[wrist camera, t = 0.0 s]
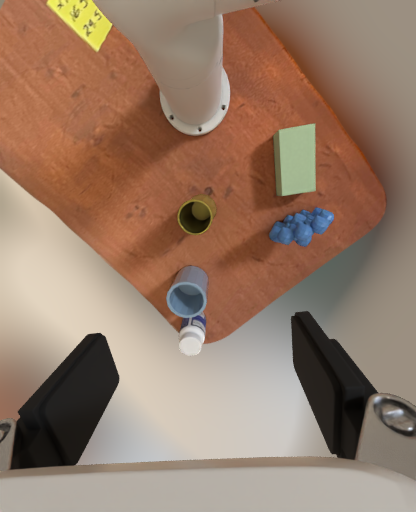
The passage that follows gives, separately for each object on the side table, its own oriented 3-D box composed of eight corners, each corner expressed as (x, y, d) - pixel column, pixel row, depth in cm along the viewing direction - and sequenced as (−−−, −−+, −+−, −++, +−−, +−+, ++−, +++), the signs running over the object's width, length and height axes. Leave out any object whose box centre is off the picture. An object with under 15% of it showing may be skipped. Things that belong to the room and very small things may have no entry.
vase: (219, 198, 44) (220, 201, 30) (212, 226, 45) (210, 242, 32) (190, 191, 44) (178, 191, 30) (185, 220, 45) (170, 232, 32)
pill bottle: (187, 330, 54) (180, 360, 44) (180, 310, 52) (172, 337, 43) (208, 325, 53) (206, 355, 43) (203, 306, 51) (199, 332, 42)
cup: (172, 268, 49) (162, 284, 40) (205, 263, 48) (202, 279, 40) (178, 298, 51) (170, 319, 42) (210, 294, 50) (209, 315, 42)
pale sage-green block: (273, 135, 40) (278, 129, 36) (305, 129, 39) (315, 123, 35) (276, 195, 43) (282, 196, 39) (306, 190, 42) (315, 190, 39)
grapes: (268, 249, 46) (284, 268, 35) (258, 220, 45) (272, 230, 33) (321, 230, 45) (357, 243, 33) (314, 199, 43) (348, 202, 31)
